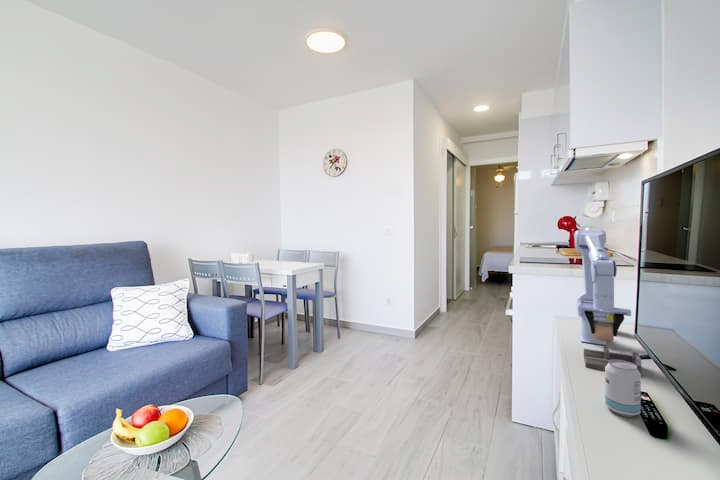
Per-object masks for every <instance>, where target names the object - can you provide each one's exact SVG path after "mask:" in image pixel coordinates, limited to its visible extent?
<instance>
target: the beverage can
mask: <svg viewBox="0 0 720 480" xmlns="http://www.w3.org/2000/svg"><path fill="white" fill-rule="evenodd" d="M641 382H642V376H641V374H640V372H639V371H638V369H637V366H636V365H635V364H633V363H630V362H627V361H623V360H609V363H608V364H607V365H606V367H605V370H604V404H605V407H607V408H609V409H610V410H611V412H613V413H615V414H616V415H619V416H622V417H629V418H631V417H635V416H638V415H640V414H641V409H642V408H641V405H642V403H641V402H642V401H641V400H642V399H641V398H642V391H641V390H642V388H641V387H642V383H641Z"/></svg>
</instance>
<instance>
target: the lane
mask: <svg viewBox="0 0 720 480" xmlns="http://www.w3.org/2000/svg"><path fill="white" fill-rule="evenodd" d="M609 352H610V360H623V361H627V362H630V363H633V364H635V365H636V366H637V369H638V371H639V372H640V374H641V377H642V376H643V373H642V357H640V355H639V353H638V351H637V350H636V349H631V354H626V353H619V352H612V351H609ZM583 360H584V366H585V368H589V369H594V370H601V371H605V367H606V365H607V364H608V363H609V360H607V359H604V350H597V349H589V348H583Z"/></svg>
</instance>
